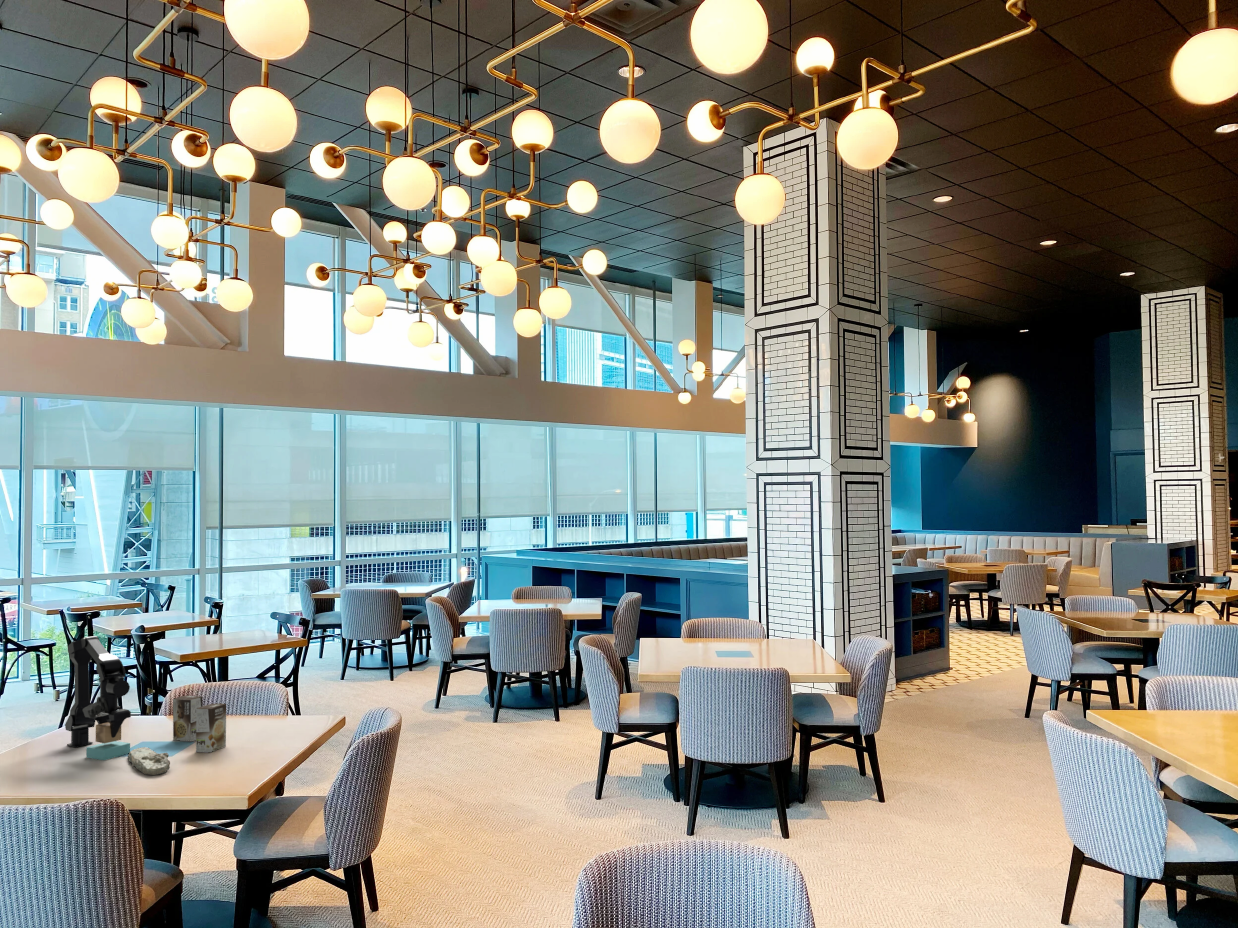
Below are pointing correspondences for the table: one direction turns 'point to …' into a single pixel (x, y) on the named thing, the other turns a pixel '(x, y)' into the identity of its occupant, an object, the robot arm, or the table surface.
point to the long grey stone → (149, 761)
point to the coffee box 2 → (211, 727)
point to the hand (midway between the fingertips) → (108, 736)
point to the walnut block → (106, 733)
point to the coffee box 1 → (185, 717)
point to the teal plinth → (107, 750)
